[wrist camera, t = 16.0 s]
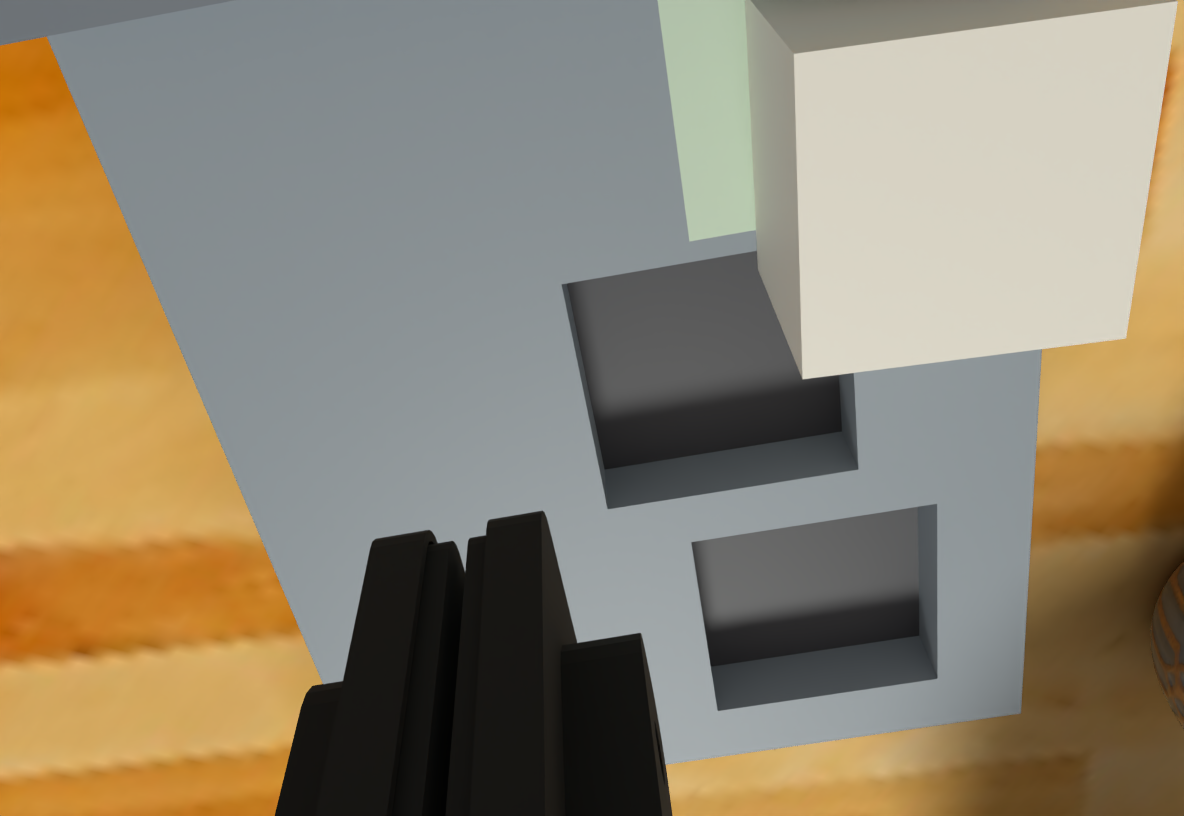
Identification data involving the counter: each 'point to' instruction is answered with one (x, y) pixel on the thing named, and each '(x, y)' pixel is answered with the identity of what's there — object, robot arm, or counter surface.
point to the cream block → (951, 172)
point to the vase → (1170, 641)
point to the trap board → (554, 346)
